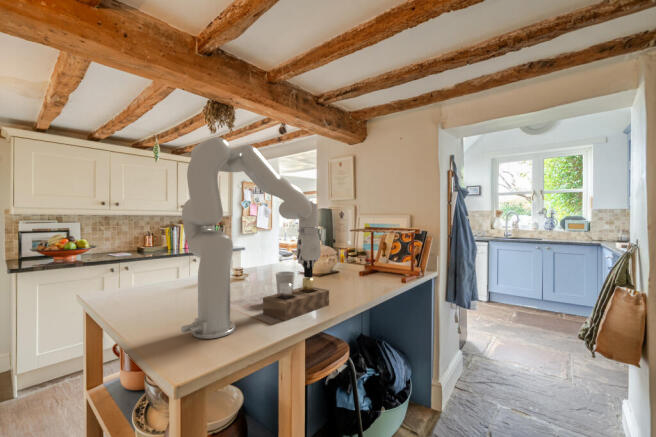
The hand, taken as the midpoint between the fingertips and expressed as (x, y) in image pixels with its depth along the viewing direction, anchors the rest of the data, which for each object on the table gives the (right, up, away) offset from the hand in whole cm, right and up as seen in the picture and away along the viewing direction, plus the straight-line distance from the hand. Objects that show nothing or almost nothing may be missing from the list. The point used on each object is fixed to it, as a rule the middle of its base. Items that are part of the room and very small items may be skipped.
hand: (308, 276), depth 118 cm
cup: (-10, -12, +6) cm, 17 cm away
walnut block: (-4, -12, -5) cm, 13 cm away
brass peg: (0, -7, 0) cm, 7 cm away
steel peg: (-8, -7, -9) cm, 14 cm away
